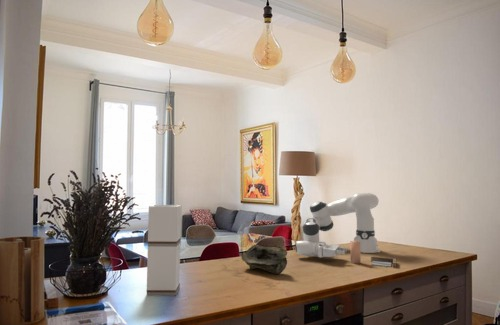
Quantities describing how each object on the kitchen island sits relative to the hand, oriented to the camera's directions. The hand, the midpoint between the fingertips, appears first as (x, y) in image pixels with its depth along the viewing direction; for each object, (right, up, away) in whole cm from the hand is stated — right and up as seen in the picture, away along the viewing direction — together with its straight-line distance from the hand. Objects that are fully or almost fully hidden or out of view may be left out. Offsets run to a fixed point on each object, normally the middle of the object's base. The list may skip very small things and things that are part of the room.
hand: (345, 251), depth 214 cm
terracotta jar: (+5, -6, -2) cm, 8 cm away
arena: (+20, -6, -5) cm, 21 cm away
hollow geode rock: (-48, -5, -25) cm, 54 cm away
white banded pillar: (-91, -2, -62) cm, 110 cm away
